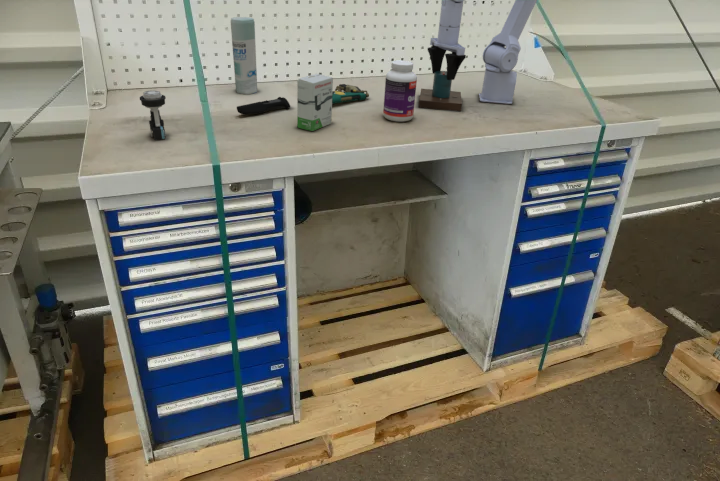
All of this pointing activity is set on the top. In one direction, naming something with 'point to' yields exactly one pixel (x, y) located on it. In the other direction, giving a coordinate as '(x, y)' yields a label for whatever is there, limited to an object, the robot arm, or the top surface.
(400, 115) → the pill bottle
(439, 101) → the stand
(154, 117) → the push button
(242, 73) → the spray paint can
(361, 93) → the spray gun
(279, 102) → the electric trimmer
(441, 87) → the jar
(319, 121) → the ink box
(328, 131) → the top surface
